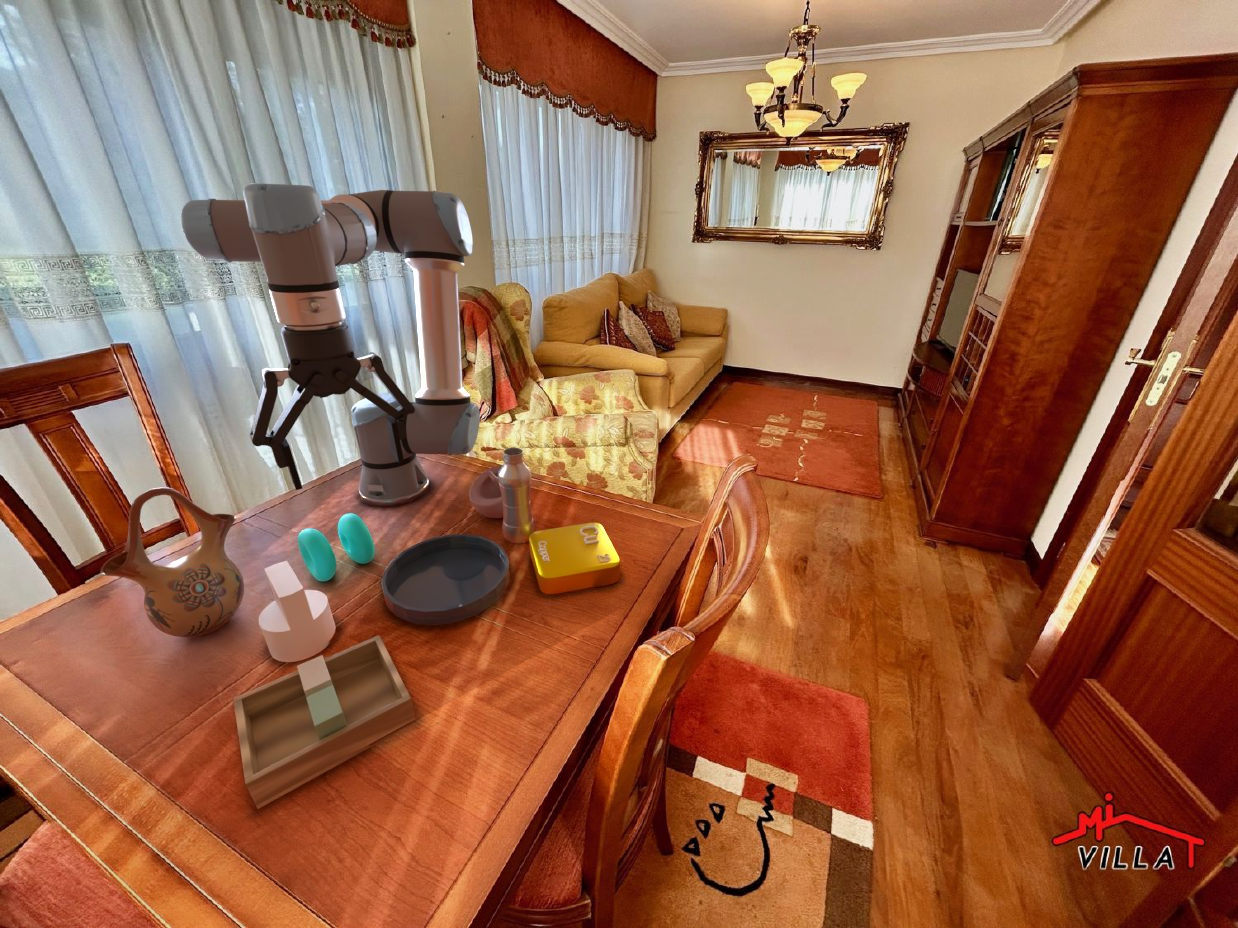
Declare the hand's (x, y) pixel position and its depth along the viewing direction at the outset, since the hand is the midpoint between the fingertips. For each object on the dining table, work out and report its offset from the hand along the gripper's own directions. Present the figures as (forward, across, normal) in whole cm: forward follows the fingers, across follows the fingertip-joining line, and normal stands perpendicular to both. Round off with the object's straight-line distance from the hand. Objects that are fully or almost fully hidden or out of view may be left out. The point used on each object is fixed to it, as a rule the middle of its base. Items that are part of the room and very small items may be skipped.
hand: (350, 471), depth 73 cm
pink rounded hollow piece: (+27, +29, +15) cm, 42 cm away
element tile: (+26, +32, -10) cm, 43 cm away
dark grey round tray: (+26, +11, -1) cm, 28 cm away
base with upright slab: (+26, -12, 0) cm, 29 cm away
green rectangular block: (+25, -12, -21) cm, 35 cm away
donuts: (+26, -3, +15) cm, 30 cm away
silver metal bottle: (+27, +28, +4) cm, 39 cm away
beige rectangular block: (+25, -12, -15) cm, 32 cm away
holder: (+26, -12, -18) cm, 34 cm away
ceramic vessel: (+26, -23, +12) cm, 37 cm away
